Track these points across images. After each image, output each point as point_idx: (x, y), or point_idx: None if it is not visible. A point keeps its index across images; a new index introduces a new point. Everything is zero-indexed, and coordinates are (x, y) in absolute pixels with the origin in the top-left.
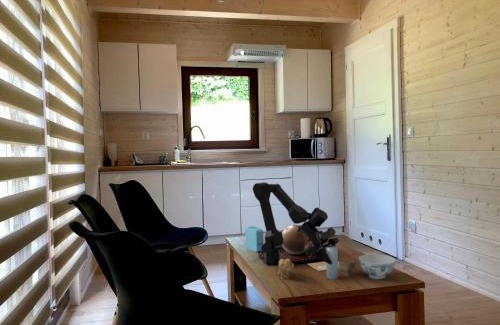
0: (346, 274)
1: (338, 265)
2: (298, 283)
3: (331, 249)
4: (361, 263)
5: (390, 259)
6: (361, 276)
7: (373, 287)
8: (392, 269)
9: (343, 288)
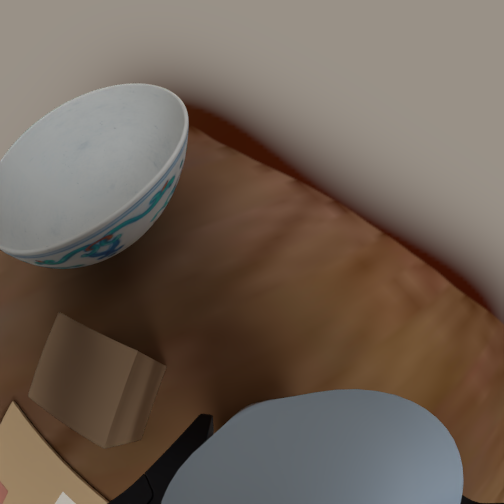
0: (161, 375)
1: (28, 469)
2: (470, 488)
3: (444, 447)
4: (142, 212)
5: (35, 139)
6: (138, 284)
7: (282, 176)
8: (112, 127)
9: (398, 276)
